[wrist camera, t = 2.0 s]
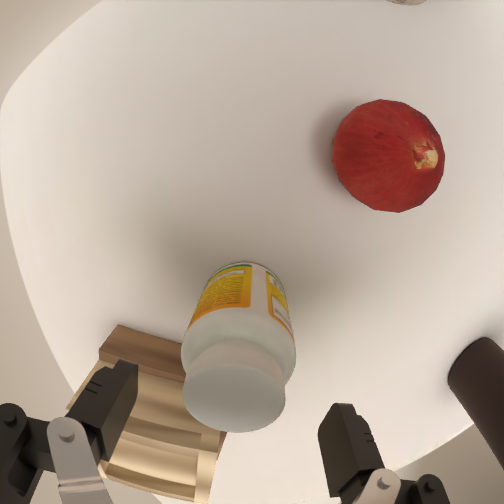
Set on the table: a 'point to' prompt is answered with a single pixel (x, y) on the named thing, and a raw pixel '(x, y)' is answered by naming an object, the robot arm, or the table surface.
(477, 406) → the vinegar
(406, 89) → the table surface
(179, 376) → the tower base
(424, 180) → the onion
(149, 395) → the tower top
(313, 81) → the table surface
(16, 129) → the table surface
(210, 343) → the supplement bottle
